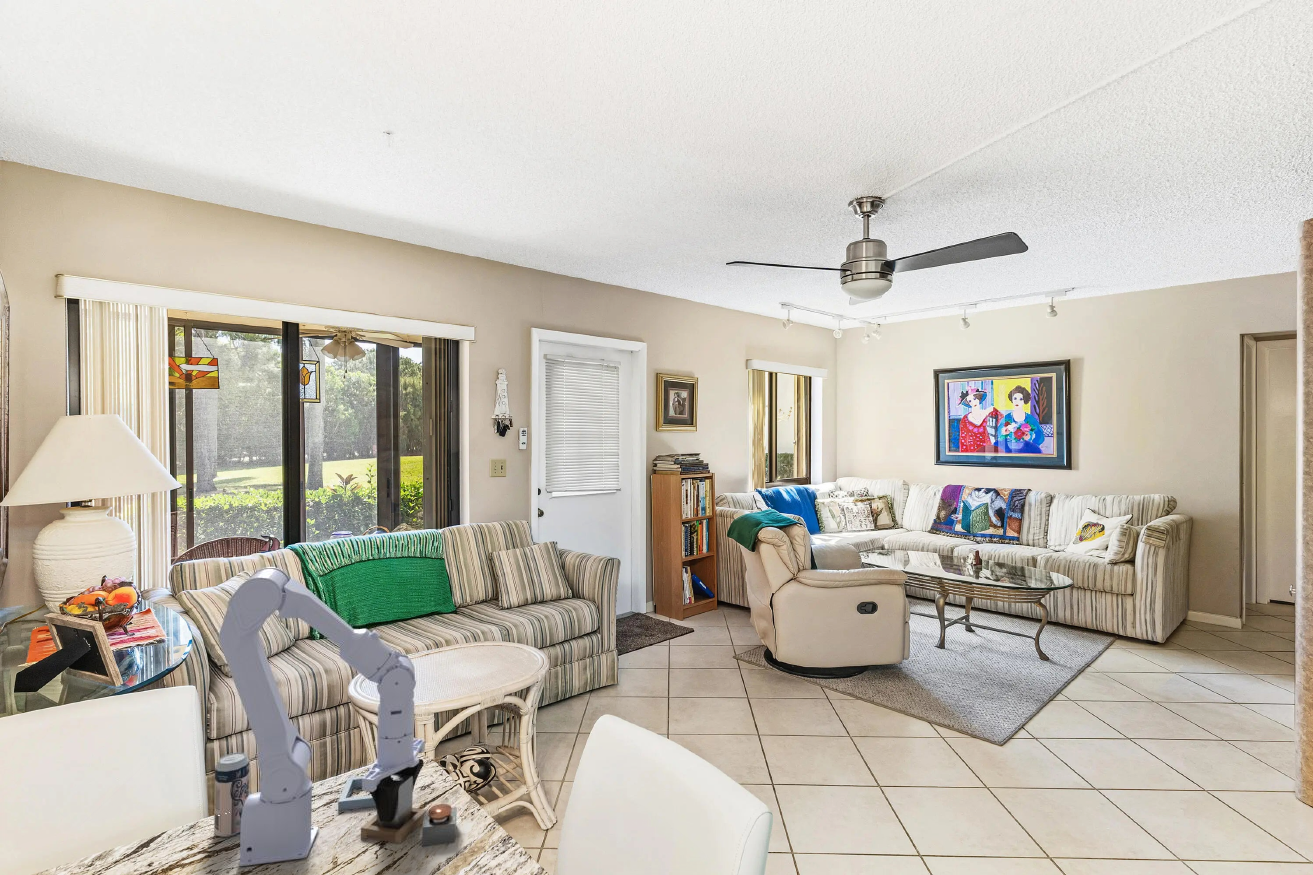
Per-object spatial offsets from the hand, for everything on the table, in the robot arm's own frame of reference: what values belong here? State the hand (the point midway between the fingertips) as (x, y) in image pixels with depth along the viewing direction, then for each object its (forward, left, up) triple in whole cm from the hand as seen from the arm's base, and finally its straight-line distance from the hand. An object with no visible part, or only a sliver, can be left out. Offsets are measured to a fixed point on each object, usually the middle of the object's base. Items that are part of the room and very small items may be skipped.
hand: (394, 813), depth 112 cm
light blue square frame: (-6, +12, -2) cm, 14 cm away
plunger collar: (+7, -4, -2) cm, 9 cm away
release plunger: (+8, -4, -2) cm, 9 cm away
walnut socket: (0, 0, -2) cm, 2 cm away
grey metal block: (0, 0, -2) cm, 2 cm away
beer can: (-26, +5, -3) cm, 27 cm away
